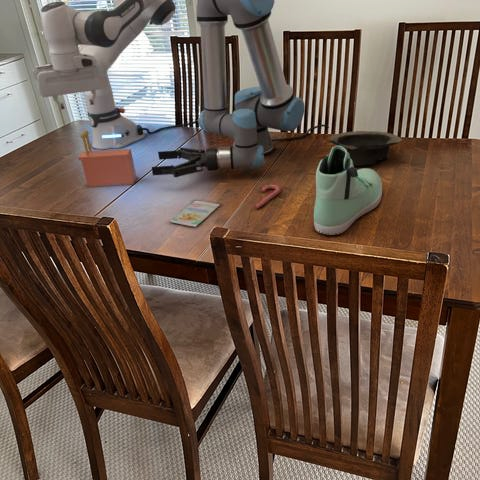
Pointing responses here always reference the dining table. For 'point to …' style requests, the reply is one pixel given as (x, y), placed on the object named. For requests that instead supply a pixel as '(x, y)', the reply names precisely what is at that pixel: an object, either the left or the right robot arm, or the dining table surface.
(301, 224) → the dining table surface
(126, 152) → the block with yellow handle
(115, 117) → the left robot arm
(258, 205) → the candy cane
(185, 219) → the baking ingredient package
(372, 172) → the sneaker
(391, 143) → the dark brown hat
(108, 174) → the open box
